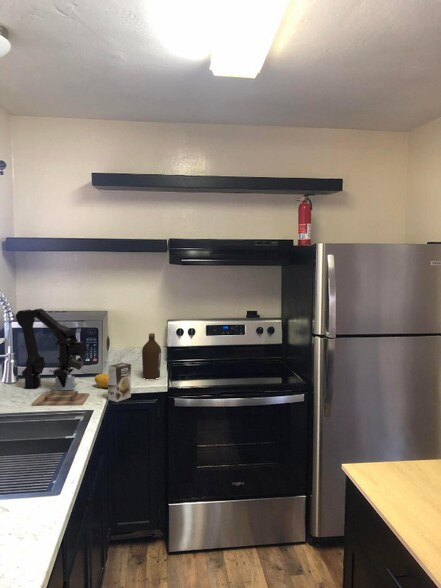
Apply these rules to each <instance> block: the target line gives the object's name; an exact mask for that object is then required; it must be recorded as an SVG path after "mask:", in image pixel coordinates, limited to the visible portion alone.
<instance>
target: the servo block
mask: <svg viewBox="0 0 441 588" xmlns="http://www.w3.org/2000/svg"><path fill="white" fill-rule="evenodd" d="M54 380H55V381H54V382H53V383H52V386H55V388H54V389H55V391H74V389H75V387H77V385H78V382H75V375H72V374H70V375H68V376H67V378H66V384H65V387H62V385H61V383H60V381H59V379H58V377H57V376H55V378H54Z"/></svg>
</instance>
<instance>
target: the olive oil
mask: <svg viewBox="0 0 441 588" xmlns="http://www.w3.org/2000/svg"><path fill="white" fill-rule="evenodd" d="M141 357H142V363H141V364H142V379H143V378H145V379H156V378H159V377H160V378H161V364H162V363H161V361H162V348H161V346H160V344H159V343H158V342H157V341H156V336H155V333H153V332H151V333H148V340H147V341H146V343H145V344H144V345H143V346H142V350H141ZM160 378H159V379H160ZM145 379H144V380H145Z"/></svg>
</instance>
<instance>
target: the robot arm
mask: <svg viewBox="0 0 441 588" xmlns="http://www.w3.org/2000/svg"><path fill="white" fill-rule="evenodd" d="M35 318H36V319H37V320H38V321H40V322H41V323H42V324H43V325H44V326H45V327H46V328H49V330H51V331H52V333H53V336H54V337H55V338H56V340H57V341H56V342H55V343H54V345H55V346H58V356H57V360H58V365H57V368H56V369H55V370H54V371H53V376H54V377H58V379H59V381H60V383H61V385H62V387H65V384H66V378H67V376H68V375H71V373H72V372H73V371H74V369H76V370H78V371H80V370H81V369H82V368H83V365H84V361H83V358H82V357H84V356H85V355H86V352H87V347H86V345H85V344H84V341H78V338H76V336H75V334H74V331H73V329H71V328H69V326H67V325H64V324H63V325H62V324H61V323H60V322H58V321H57V320H56V319H55V318H54V317H52V316H51V315H49V314H48V313H47V312H46V311H45V309H43V308H35V309H33V310H31V309H23V310H22V309H21V310H19V311H17V312H16V313H15V319H16V321H17V324H18V325H19V327H21V329H22V333H23V338H24V339H23V340H24V343H25V348H26V354H27V358H26V361H25V368H24V370H22V372H21V376H22V377H23V378H24V386H23V389H25V390H26V389H33V390H34V389H38V388H39V387H41V385H42V378H41V376H40V375H42V374H43V371H44V370H45V366H46V362H45V357H44V356H41V355H40V354H39V350H38V346H37V342H36V341H37V340H36V336H35V331H34V324H35ZM74 356H78V358H74Z"/></svg>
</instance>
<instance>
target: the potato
mask: <svg viewBox="0 0 441 588" xmlns="http://www.w3.org/2000/svg"><path fill="white" fill-rule="evenodd" d="M94 382H95V384H96V385H97V386H98V387H100V388H105V389H108V373H98V374H97V375H95V377H94Z"/></svg>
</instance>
